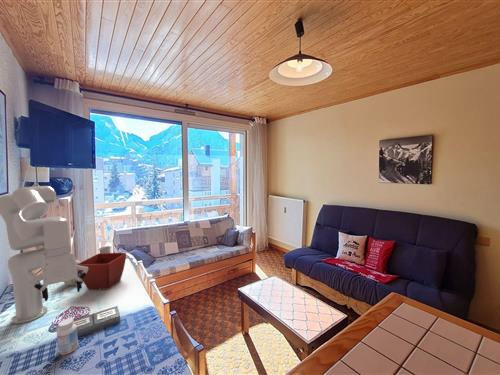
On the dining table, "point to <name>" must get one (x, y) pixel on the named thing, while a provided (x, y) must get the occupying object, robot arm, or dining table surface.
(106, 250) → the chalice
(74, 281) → the decorative egg
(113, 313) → the panel
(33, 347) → the dining table surface
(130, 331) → the dining table surface
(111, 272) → the plant pot
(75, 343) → the pill bottle
